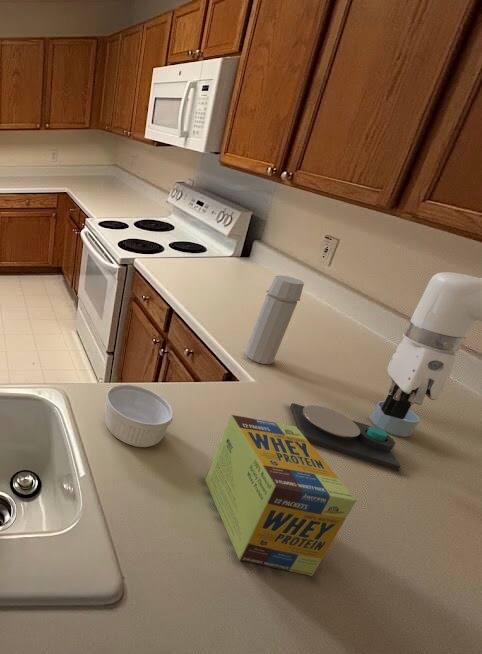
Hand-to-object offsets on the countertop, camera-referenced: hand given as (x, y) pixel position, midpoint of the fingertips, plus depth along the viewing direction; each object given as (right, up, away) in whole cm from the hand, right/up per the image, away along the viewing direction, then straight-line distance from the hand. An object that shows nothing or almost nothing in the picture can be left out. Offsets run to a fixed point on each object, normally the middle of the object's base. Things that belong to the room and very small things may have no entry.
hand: (391, 414), depth 85 cm
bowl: (+9, -6, +10) cm, 15 cm away
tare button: (-1, -5, +2) cm, 6 cm away
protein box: (-40, -13, -17) cm, 45 cm away
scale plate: (-8, -3, +5) cm, 10 cm away
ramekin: (-53, -4, +2) cm, 53 cm away
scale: (-6, -7, +5) cm, 11 cm away
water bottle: (-3, +5, +36) cm, 36 cm away
